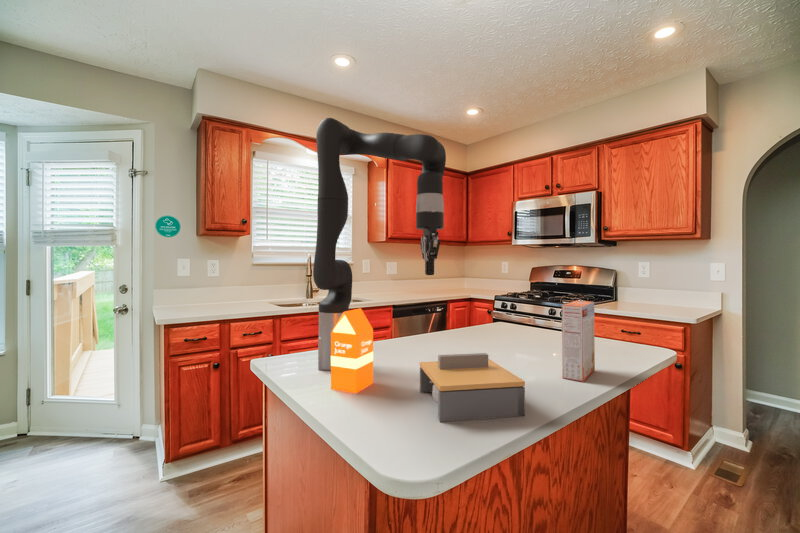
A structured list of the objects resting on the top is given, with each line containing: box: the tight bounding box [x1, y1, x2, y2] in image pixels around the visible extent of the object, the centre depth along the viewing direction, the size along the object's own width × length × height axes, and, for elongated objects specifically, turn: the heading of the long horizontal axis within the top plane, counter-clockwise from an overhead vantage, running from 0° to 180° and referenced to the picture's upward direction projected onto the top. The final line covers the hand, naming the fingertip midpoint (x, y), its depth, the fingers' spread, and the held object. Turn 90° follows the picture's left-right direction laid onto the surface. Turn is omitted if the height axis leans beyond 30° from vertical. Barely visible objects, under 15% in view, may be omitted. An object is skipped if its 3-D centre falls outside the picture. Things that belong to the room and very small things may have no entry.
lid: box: [419, 352, 526, 391], centre depth 85 cm, size 18×18×4 cm
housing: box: [419, 366, 526, 423], centre depth 85 cm, size 18×18×6 cm
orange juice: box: [330, 308, 374, 394], centre depth 97 cm, size 8×9×20 cm
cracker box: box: [561, 300, 596, 383], centre depth 107 cm, size 14×6×21 cm, turn 141°
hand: (429, 275), depth 101 cm, fingers closed
